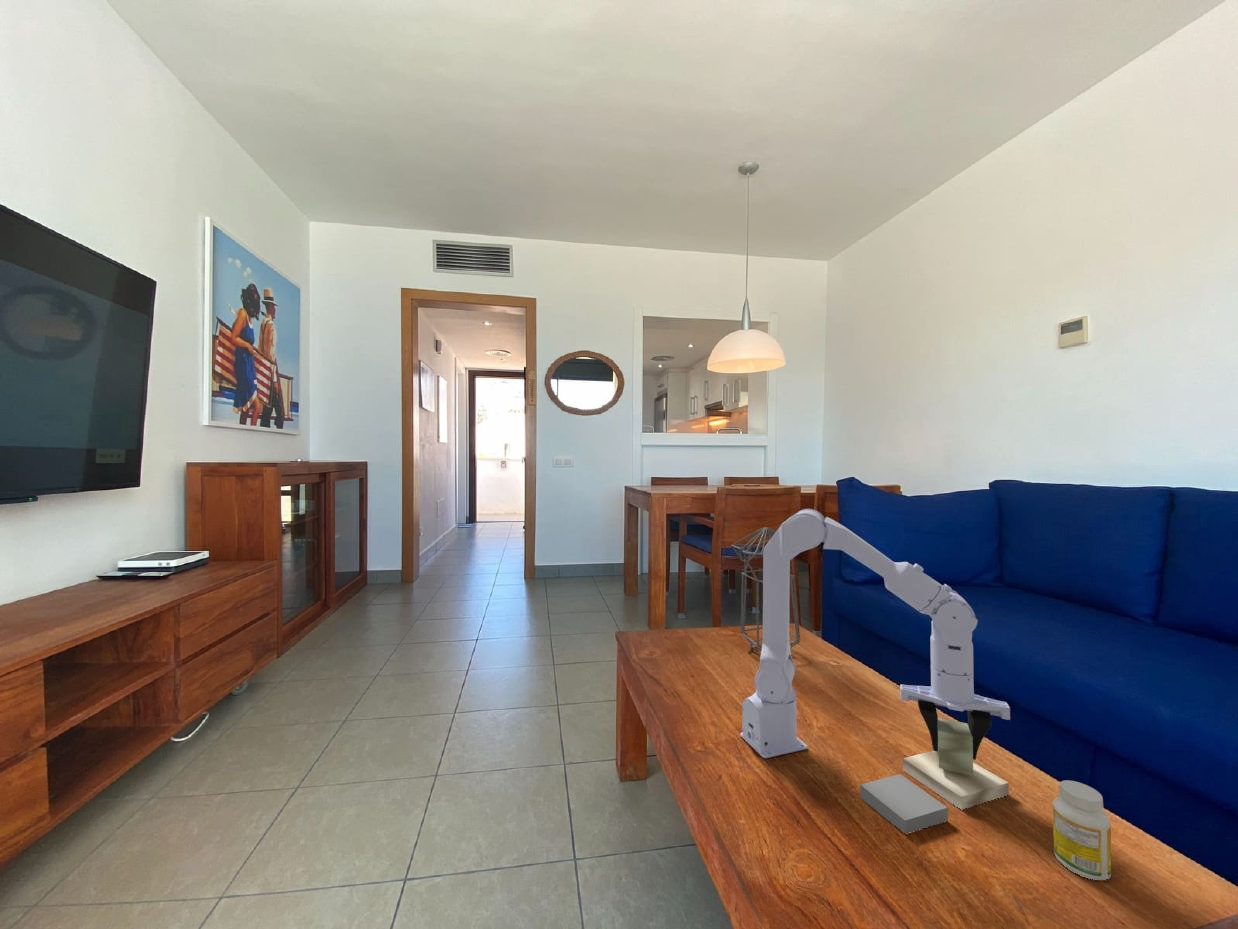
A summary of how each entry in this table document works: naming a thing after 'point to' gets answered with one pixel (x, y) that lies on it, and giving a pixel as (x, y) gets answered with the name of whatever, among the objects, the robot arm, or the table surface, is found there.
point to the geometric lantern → (762, 532)
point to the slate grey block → (903, 803)
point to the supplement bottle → (1082, 831)
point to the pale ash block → (955, 781)
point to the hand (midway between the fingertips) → (953, 752)
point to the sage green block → (954, 746)
